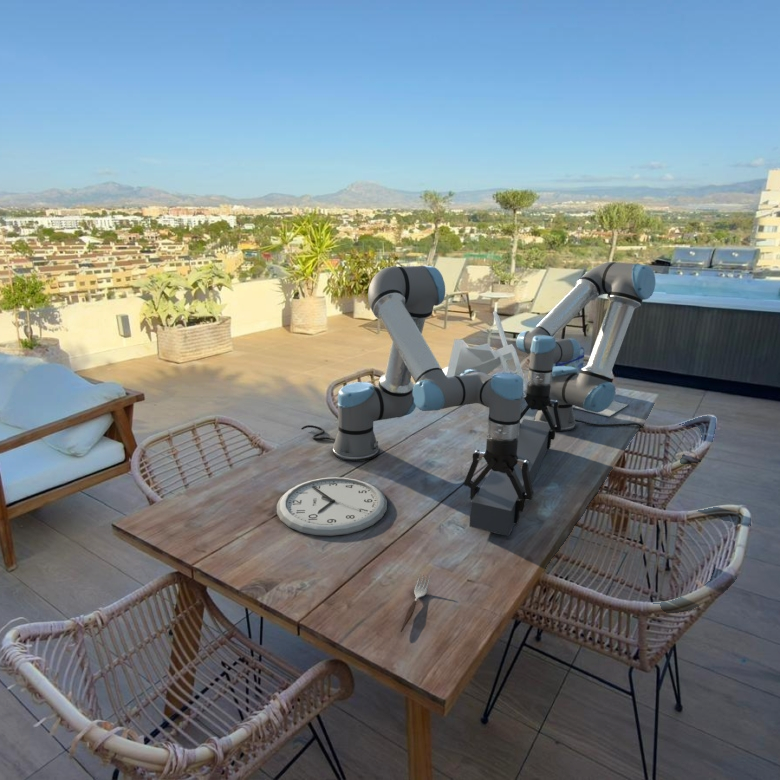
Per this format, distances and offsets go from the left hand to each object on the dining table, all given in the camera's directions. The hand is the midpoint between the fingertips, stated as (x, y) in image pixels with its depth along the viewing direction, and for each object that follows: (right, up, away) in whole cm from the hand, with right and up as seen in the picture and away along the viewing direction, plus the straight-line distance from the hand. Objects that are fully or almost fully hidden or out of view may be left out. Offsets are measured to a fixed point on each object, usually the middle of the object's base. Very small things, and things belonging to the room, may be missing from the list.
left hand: (495, 516), depth 135 cm
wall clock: (-43, +1, +8) cm, 44 cm away
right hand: (+22, +14, +45) cm, 52 cm away
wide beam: (+11, +6, +23) cm, 26 cm away
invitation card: (+64, +25, +92) cm, 115 cm away
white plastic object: (+14, +31, +108) cm, 114 cm away
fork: (-23, -11, -30) cm, 39 cm away
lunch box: (+54, +33, +115) cm, 131 cm away
